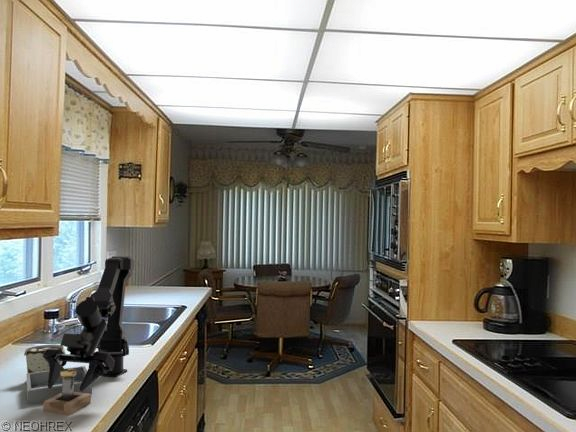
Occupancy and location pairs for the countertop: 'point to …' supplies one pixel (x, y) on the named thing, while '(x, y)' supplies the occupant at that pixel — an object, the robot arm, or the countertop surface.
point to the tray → (48, 393)
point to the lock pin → (68, 383)
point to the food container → (38, 358)
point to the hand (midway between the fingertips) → (64, 389)
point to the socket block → (67, 403)
